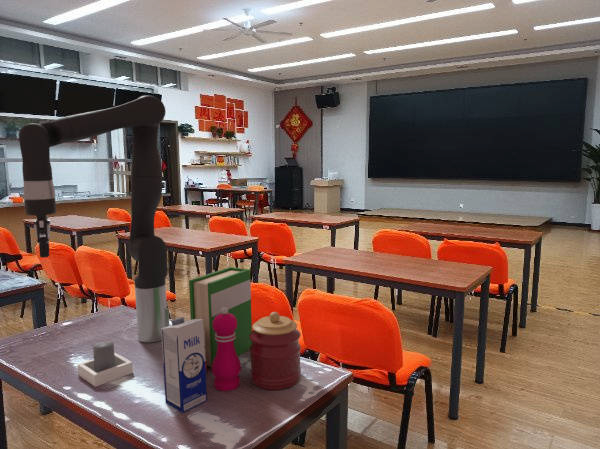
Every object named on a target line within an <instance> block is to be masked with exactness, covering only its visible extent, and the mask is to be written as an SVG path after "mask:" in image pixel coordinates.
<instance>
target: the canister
mask: <svg viewBox="0 0 600 449" xmlns="http://www.w3.org/2000/svg"><path fill="white" fill-rule="evenodd" d="M297 326H298V324H297V322H295V321H294V320H292V319H291V318H289V317H288V316H283V315H280V314H279V313H278V312H277V311H272V312H270V314H269V316H268V315H267V316H263V317H261V318H260V319H258V320H257V321H256V322H254V323H252V332H251V333H250V334H249V338H250V340H251V346H250V349H249V351H250V352H249V354H250V370H249V375H250V378H251V382H252V384H253V385H254V386H256V387H258V388H259V389H263V390H270V391H278V390H284V389H289V388H291V387H294V386H295V385H297V384H298V383H299V381H300V379H301V375H302V366H301V349H302V346H301V344H300V342H299V339H300V338H301V331H299V329H297Z"/></svg>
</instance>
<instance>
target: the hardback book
mask: <svg viewBox="0 0 600 449" xmlns="http://www.w3.org/2000/svg"><path fill="white" fill-rule="evenodd" d="M251 286H252V285H251V269H250V268H249V269H248V268H241V267H234V266H233V267H232V266H229V267H226V268H222V269H220V270H217V271H214V272H210V273H207V274H204V275H201V276H198V277H196V278H195V277H194V278H192V279H189V280H188V288H189V309H190V320H193V319H204V320H203V324H204V330H205V346H206V365H207V367H210V371H211V372H212V364H213V361H214V359H215V356H216V354H217V341H216V340H215V333H216V332H215V331H214V330H213V320H214V318H215V317H216V316H217V315H219V314H221V309H222V308H224V307H225V308H227V309H228V313H230V314H232V315H234V316H235V318H236V320H237V328H236V329H235V331H234V332H235V333H236V334H235V336H236V338H235V339H234V348H235V351H236V354H237V356H238V357H239V356H241V355H243V354H245V353H246V352H247V351H250V346H251V340H250V338H249V334H250V333H251V332H252V331H253V329H252V326H253V323H252V321H253V317H252V288H251Z"/></svg>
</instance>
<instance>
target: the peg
mask: <svg viewBox="0 0 600 449" xmlns="http://www.w3.org/2000/svg"><path fill="white" fill-rule="evenodd" d="M114 346H115V343H114V342H113V341H109V340H107V341H101V342H97V343H95V344H93V346H92V352H93V359H94V368H95V371H94V372H96V373H98V372H101V371H104V370H106V369H109V368H112V367H115V357H114V352H115V347H114Z"/></svg>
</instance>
